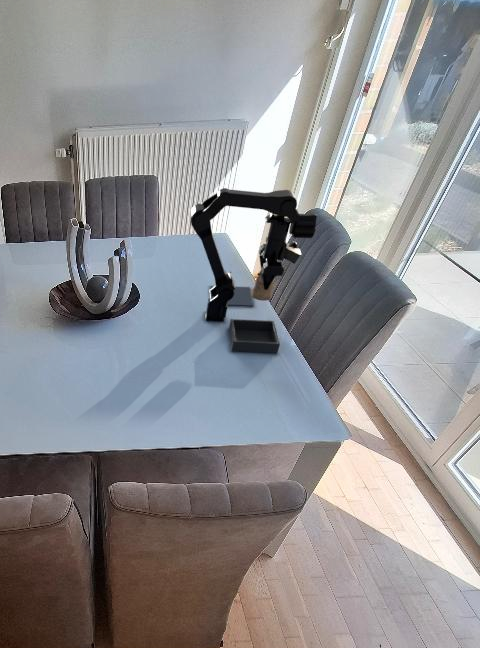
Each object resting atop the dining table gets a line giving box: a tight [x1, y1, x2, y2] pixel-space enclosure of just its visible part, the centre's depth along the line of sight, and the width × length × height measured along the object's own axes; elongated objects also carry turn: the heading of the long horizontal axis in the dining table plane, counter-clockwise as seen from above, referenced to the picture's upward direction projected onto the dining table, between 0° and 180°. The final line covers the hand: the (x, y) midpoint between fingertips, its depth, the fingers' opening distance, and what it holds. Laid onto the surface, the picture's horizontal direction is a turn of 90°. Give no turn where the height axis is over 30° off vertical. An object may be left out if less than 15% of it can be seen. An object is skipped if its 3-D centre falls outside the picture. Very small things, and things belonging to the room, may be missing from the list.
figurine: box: [250, 267, 276, 302], centre depth 155 cm, size 7×7×12 cm
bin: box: [228, 318, 281, 355], centre depth 154 cm, size 15×15×4 cm
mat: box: [210, 285, 254, 307], centre depth 178 cm, size 15×15×1 cm
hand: (264, 284), depth 156 cm, fingers closed on figurine, 7 cm apart
